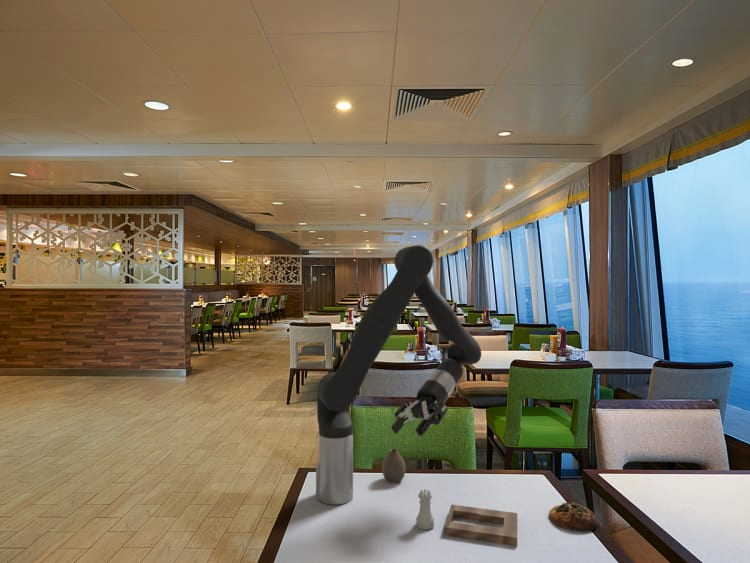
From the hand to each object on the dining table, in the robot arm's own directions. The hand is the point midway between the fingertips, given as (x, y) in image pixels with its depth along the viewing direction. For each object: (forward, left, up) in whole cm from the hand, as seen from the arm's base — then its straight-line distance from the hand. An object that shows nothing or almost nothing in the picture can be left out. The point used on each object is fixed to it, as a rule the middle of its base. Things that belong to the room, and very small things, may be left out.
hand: (405, 432), depth 119 cm
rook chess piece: (+6, -5, -20) cm, 22 cm away
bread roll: (+40, +8, -21) cm, 46 cm away
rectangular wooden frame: (+19, -2, -20) cm, 28 cm away
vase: (-8, +19, -20) cm, 29 cm away
